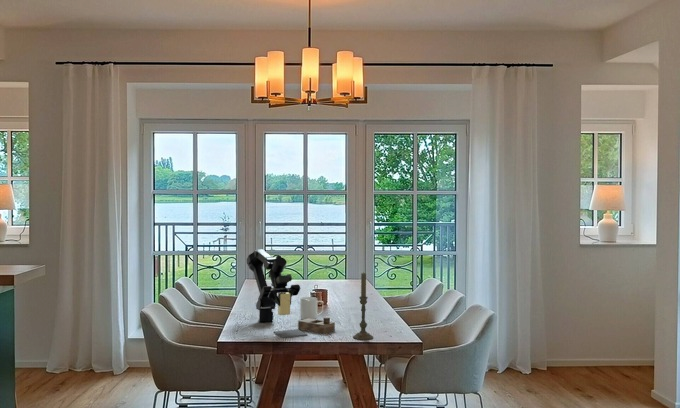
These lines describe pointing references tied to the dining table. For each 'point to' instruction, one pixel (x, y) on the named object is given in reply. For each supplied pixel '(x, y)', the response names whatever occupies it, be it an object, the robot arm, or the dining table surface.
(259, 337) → the dining table surface
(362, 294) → the candlestick holder
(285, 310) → the tan wood-grain block
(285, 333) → the rubber mat
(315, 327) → the body
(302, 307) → the mug
